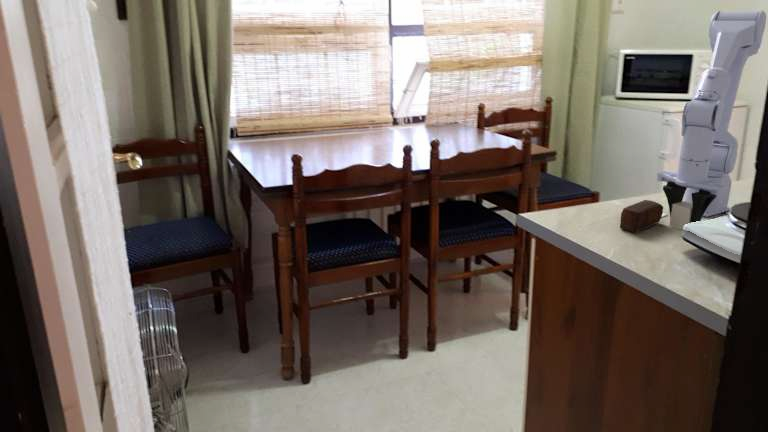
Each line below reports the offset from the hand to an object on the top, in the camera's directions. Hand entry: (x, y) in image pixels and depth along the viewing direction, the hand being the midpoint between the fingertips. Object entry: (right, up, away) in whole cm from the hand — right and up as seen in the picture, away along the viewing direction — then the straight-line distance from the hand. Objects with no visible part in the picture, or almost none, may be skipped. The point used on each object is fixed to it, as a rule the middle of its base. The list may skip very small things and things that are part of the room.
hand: (684, 220), depth 126 cm
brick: (-9, -1, +1) cm, 9 cm away
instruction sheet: (-5, +1, +7) cm, 9 cm away
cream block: (0, -1, 0) cm, 2 cm away
